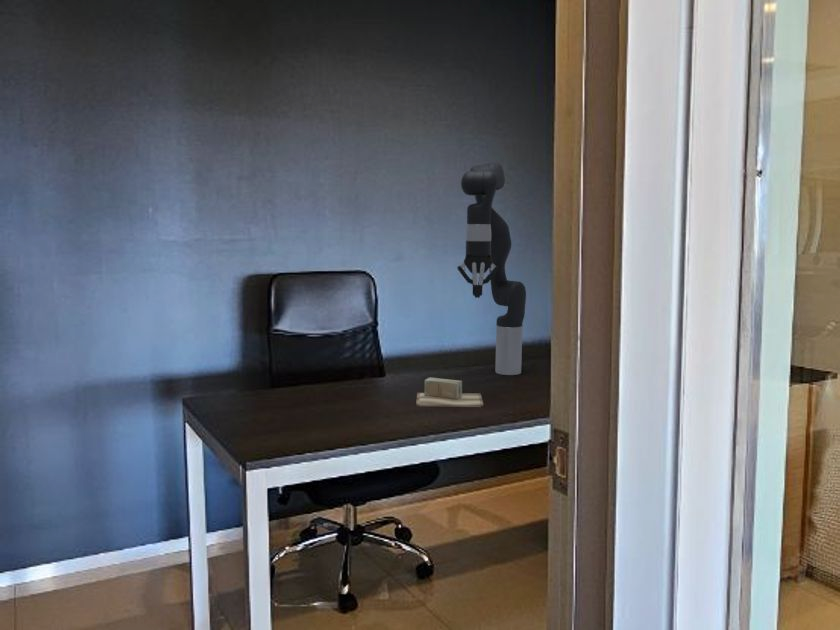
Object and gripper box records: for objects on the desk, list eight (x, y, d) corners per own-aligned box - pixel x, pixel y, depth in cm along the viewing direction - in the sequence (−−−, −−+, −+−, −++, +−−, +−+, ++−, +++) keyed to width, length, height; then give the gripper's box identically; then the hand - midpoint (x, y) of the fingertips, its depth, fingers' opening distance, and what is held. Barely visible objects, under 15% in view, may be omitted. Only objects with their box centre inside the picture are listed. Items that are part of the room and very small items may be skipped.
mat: (417, 394, 233) (417, 392, 233) (480, 395, 233) (480, 393, 233) (416, 406, 219) (416, 404, 219) (483, 407, 219) (483, 405, 219)
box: (457, 399, 225) (424, 396, 229) (462, 396, 229) (429, 393, 233) (457, 382, 224) (423, 379, 229) (462, 379, 228) (429, 377, 233)
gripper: (456, 239, 215) (455, 298, 218) (501, 240, 215) (500, 299, 217) (455, 238, 223) (455, 295, 225) (499, 239, 222) (498, 296, 225)
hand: (477, 297), depth 221 cm, fingers closed
